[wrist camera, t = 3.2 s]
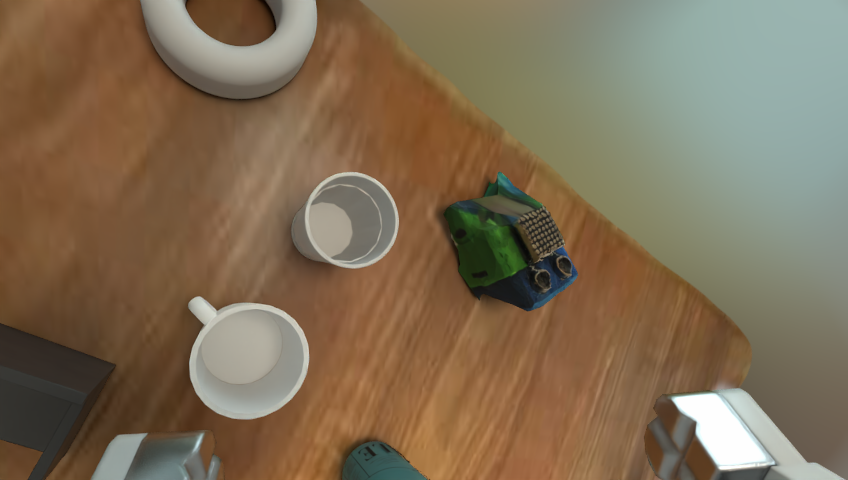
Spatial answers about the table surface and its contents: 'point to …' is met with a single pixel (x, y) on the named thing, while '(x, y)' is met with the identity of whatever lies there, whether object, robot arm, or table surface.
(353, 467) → the beverage bottle
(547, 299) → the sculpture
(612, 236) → the table surface
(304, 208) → the cup
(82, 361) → the book rack
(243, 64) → the thick torus
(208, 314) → the mug
